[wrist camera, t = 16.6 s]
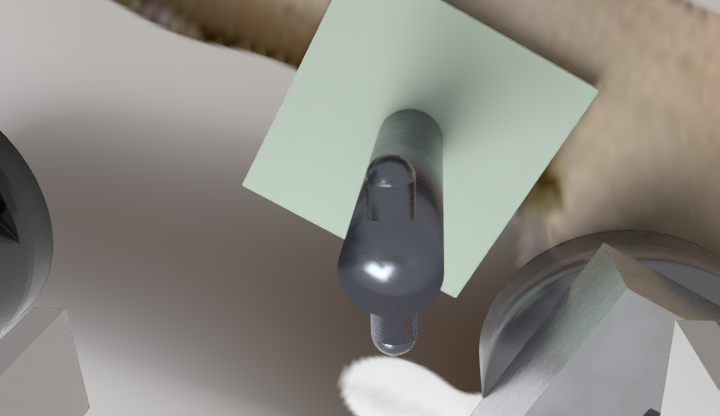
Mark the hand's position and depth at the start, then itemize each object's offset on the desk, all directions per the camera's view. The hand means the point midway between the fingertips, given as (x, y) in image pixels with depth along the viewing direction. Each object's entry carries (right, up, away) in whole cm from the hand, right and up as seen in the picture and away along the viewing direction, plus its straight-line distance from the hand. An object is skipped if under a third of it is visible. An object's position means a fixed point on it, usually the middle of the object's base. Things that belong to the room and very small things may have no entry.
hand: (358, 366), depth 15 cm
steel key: (+2, +7, +16) cm, 18 cm away
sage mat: (+2, +7, +17) cm, 19 cm away
